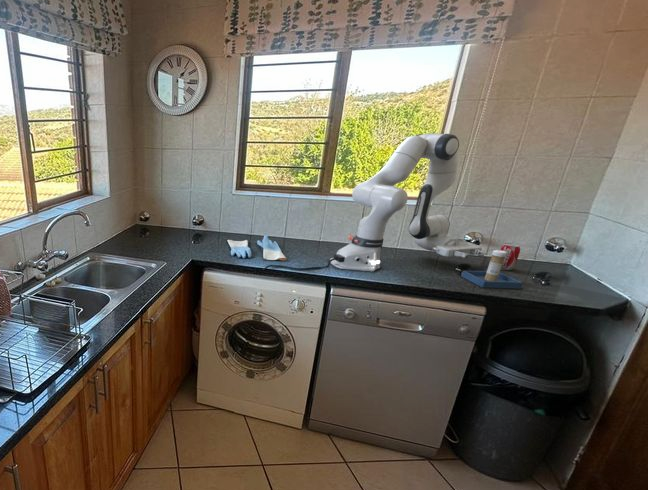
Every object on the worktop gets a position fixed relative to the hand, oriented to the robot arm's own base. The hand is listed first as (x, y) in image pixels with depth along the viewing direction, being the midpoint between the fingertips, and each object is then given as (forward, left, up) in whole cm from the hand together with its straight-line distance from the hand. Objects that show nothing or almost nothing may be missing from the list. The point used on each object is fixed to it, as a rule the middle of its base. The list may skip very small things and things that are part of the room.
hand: (474, 255), depth 182 cm
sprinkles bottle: (+3, -9, -9) cm, 13 cm away
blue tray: (+3, -9, -9) cm, 14 cm away
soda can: (+23, +10, -10) cm, 27 cm away
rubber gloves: (-92, +30, -10) cm, 97 cm away
